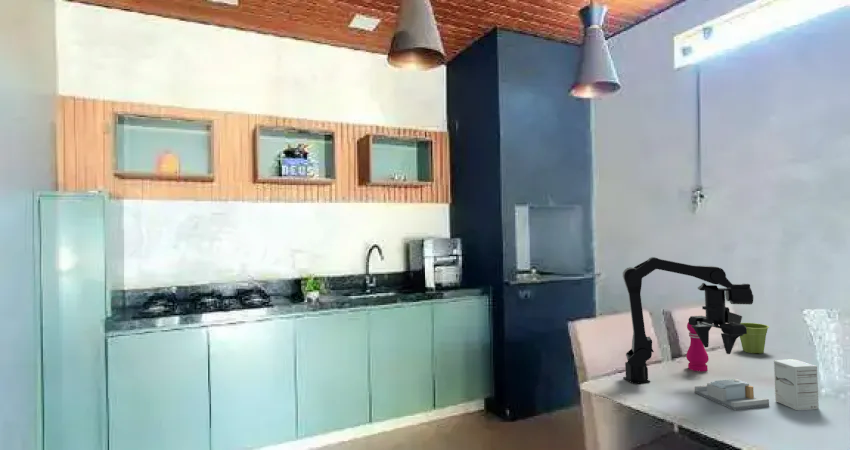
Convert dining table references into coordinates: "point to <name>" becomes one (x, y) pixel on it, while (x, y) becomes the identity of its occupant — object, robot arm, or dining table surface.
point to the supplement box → (796, 384)
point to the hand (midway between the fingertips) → (717, 350)
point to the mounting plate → (735, 404)
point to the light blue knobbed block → (732, 388)
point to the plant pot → (754, 338)
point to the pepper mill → (696, 352)
